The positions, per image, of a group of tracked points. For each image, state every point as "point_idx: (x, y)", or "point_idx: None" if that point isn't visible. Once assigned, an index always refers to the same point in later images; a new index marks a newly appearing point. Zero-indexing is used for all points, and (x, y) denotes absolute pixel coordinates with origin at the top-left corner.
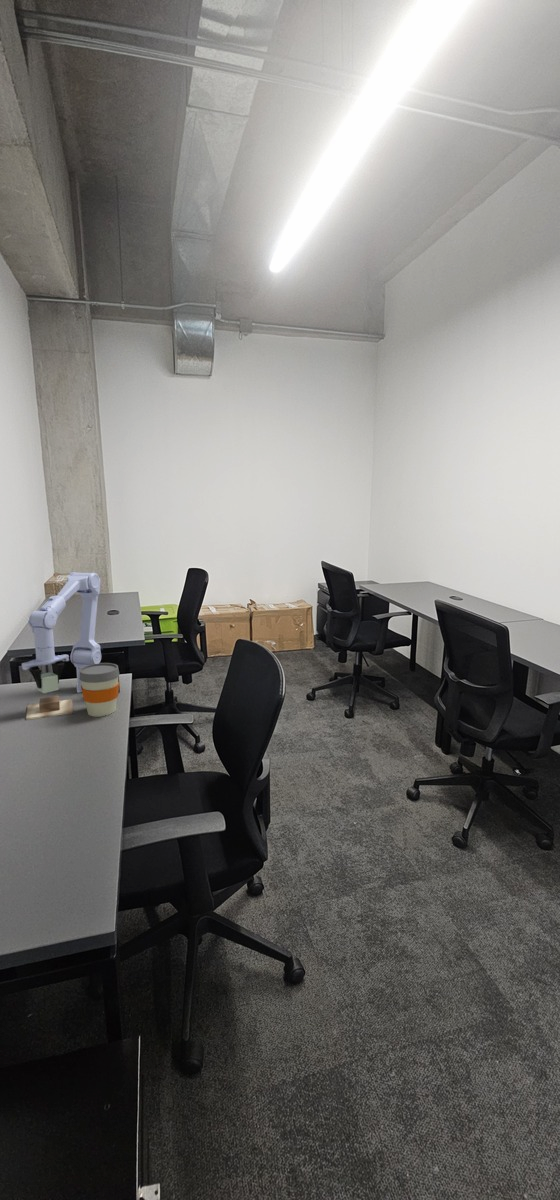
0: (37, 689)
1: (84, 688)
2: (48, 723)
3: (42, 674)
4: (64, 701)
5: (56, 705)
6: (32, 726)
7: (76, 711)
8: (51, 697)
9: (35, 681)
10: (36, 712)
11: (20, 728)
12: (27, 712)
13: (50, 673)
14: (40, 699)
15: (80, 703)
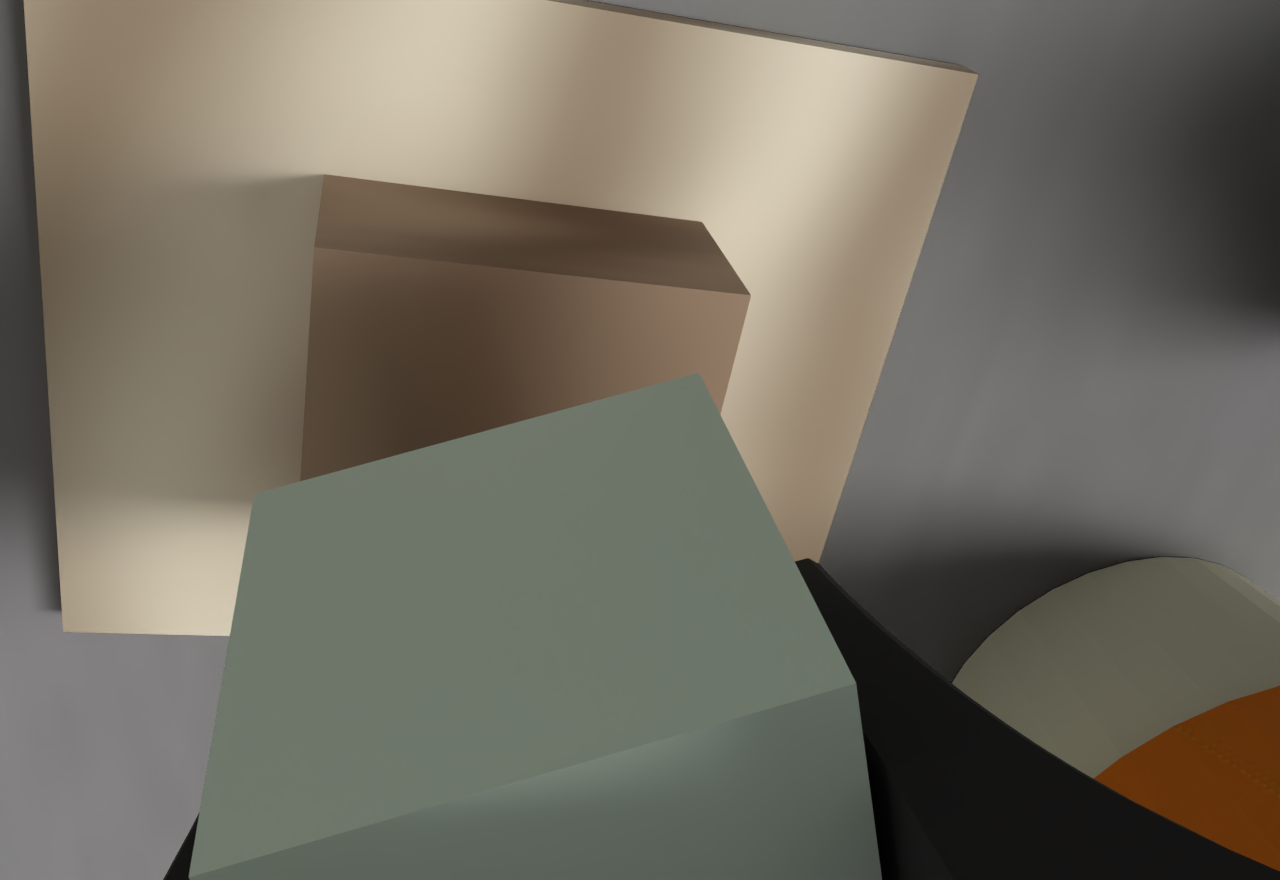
0: (253, 501)
1: None
2: None
3: (459, 839)
4: (818, 134)
5: None
6: None
7: (844, 587)
8: (580, 336)
9: (177, 876)
10: (240, 455)
11: (17, 842)
12: (60, 379)
13: (770, 832)
14: (328, 346)
15: (1023, 290)
